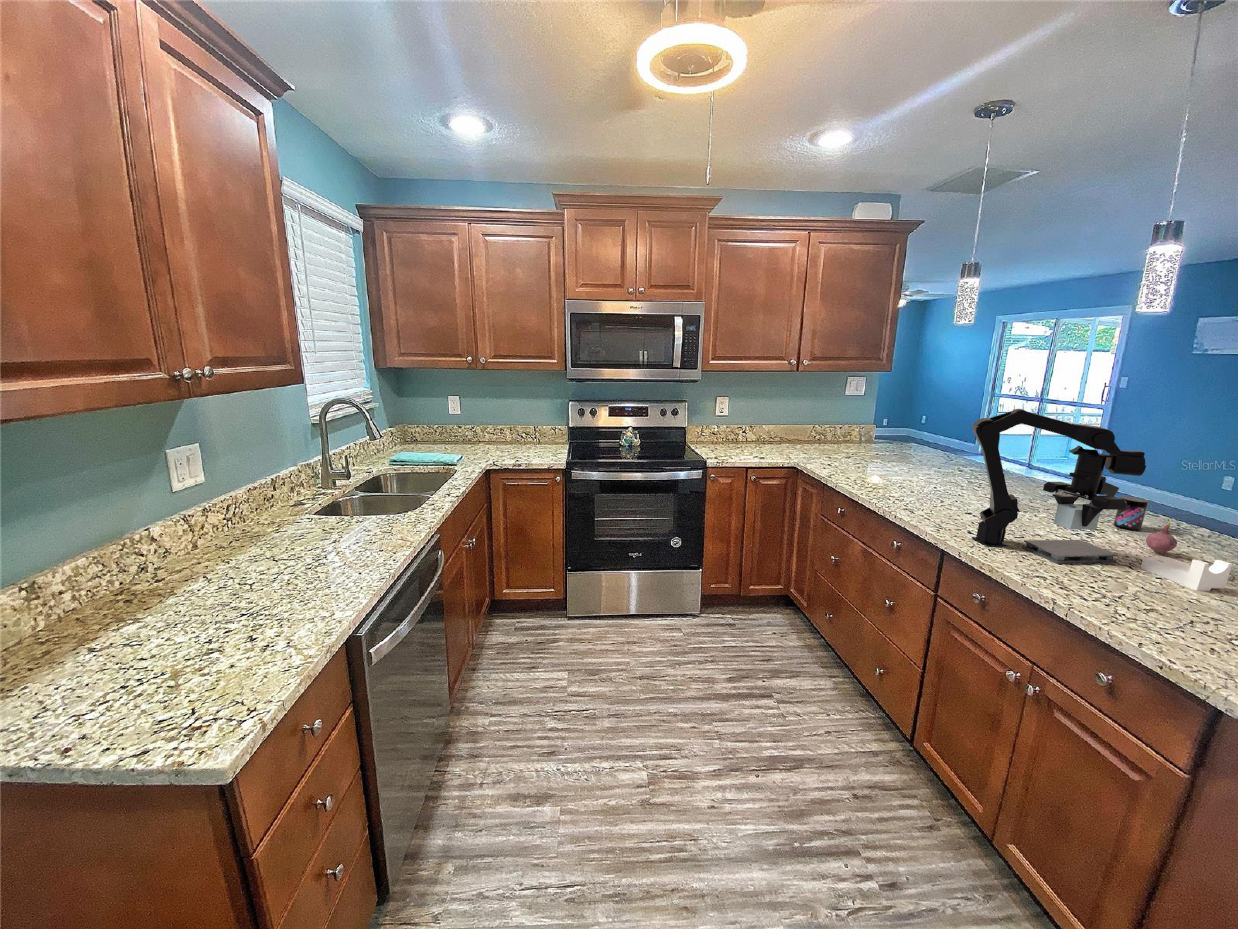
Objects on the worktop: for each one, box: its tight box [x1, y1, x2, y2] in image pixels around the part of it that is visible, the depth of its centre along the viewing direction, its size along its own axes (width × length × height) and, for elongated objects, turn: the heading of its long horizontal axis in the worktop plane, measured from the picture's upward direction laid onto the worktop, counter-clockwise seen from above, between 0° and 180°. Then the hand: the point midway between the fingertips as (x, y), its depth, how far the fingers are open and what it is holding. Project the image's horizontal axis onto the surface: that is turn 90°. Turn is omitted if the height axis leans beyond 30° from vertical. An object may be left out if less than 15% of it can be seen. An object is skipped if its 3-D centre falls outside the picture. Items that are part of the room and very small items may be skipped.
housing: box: [1053, 503, 1102, 531], centre depth 138 cm, size 5×8×6 cm, turn 94°
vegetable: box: [1145, 522, 1178, 554], centre depth 142 cm, size 6×6×10 cm
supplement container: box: [1113, 495, 1150, 532], centre depth 163 cm, size 7×7×10 cm
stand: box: [1021, 539, 1119, 565], centre depth 141 cm, size 18×11×2 cm, turn 94°
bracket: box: [1140, 556, 1233, 592], centre depth 126 cm, size 13×7×8 cm, turn 1°
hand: (1075, 523), depth 139 cm, fingers closed on housing, 5 cm apart
